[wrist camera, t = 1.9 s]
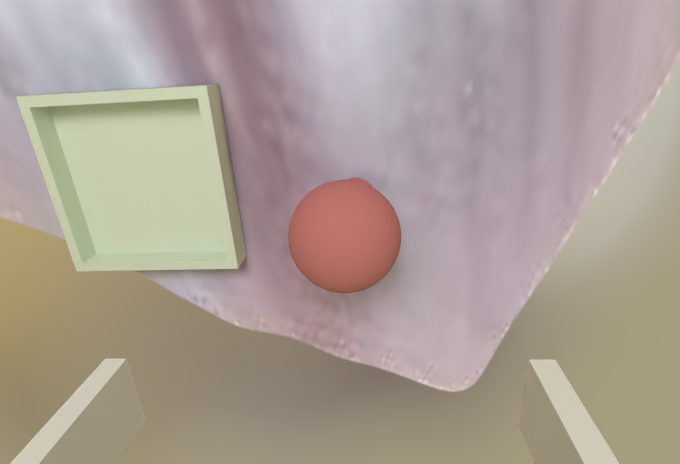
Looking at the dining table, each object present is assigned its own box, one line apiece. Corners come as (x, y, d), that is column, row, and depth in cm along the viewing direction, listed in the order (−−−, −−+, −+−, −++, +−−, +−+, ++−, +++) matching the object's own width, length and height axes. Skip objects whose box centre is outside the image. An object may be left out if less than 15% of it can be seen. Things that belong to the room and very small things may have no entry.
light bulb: (291, 199, 34) (252, 265, 23) (346, 134, 31) (333, 173, 20) (354, 250, 35) (346, 336, 24) (412, 192, 33) (432, 258, 22)
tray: (94, 258, 38) (76, 271, 35) (41, 94, 32) (15, 96, 30) (246, 255, 36) (238, 268, 34) (218, 84, 31) (206, 85, 28)
